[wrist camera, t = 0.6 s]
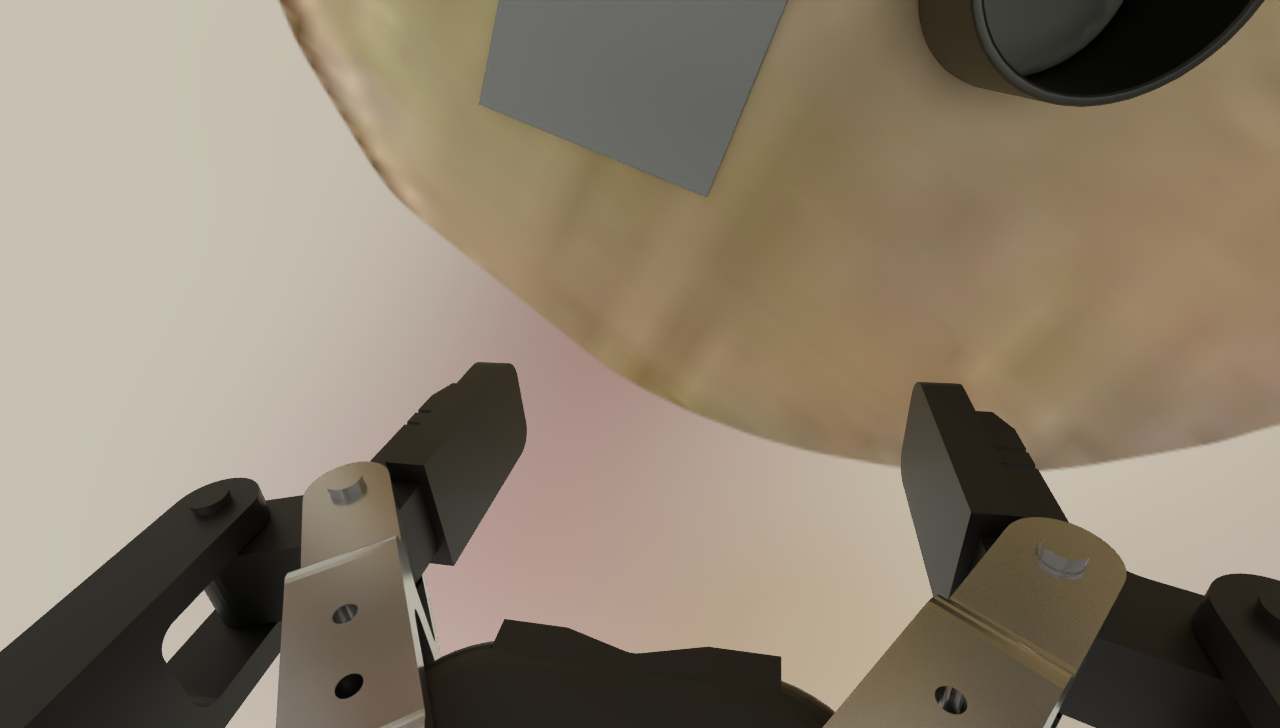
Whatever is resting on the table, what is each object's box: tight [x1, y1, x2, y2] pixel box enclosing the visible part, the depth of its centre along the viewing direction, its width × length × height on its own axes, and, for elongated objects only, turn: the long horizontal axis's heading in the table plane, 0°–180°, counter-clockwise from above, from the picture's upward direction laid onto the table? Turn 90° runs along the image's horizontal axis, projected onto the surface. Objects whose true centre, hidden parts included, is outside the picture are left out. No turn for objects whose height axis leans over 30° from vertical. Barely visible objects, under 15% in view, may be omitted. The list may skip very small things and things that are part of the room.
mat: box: [479, 0, 787, 197], centre depth 31 cm, size 14×14×1 cm
